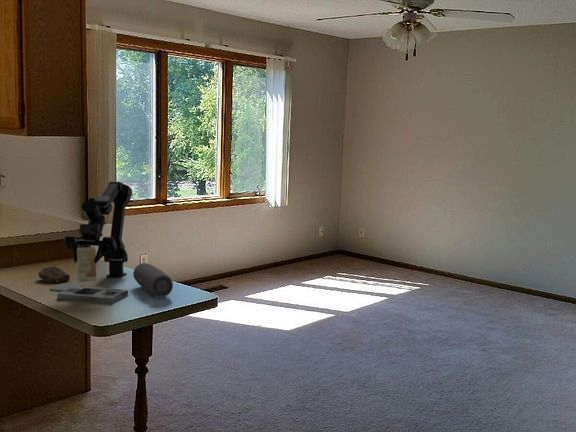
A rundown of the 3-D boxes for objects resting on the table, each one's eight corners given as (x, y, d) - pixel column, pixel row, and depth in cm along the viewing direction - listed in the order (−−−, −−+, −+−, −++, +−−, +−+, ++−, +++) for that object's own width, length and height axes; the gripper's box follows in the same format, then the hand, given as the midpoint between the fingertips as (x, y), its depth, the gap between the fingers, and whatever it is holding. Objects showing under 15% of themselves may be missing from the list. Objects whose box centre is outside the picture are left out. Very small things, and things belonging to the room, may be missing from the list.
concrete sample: (36, 279, 251) (36, 267, 251) (61, 276, 258) (60, 264, 257) (46, 285, 243) (45, 273, 242) (71, 281, 249) (71, 269, 248)
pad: (63, 284, 244) (63, 283, 244) (83, 286, 242) (83, 284, 242) (49, 290, 235) (49, 288, 235) (70, 292, 233) (70, 290, 233)
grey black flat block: (75, 290, 235) (75, 285, 235) (128, 295, 231) (127, 289, 230) (57, 299, 224) (57, 293, 224) (111, 303, 219) (111, 298, 219)
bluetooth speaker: (131, 287, 242) (131, 262, 240) (154, 284, 246) (154, 260, 245) (149, 302, 222) (149, 275, 221) (174, 298, 227) (174, 272, 226)
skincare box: (79, 282, 224) (77, 250, 222) (77, 280, 228) (75, 247, 226) (97, 280, 227) (96, 248, 225) (95, 278, 230) (94, 246, 229)
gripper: (64, 214, 228) (52, 249, 219) (113, 215, 227) (103, 251, 218) (73, 231, 237) (62, 266, 228) (121, 232, 236) (112, 267, 227)
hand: (85, 262), depth 225 cm, fingers closed on skincare box, 7 cm apart
